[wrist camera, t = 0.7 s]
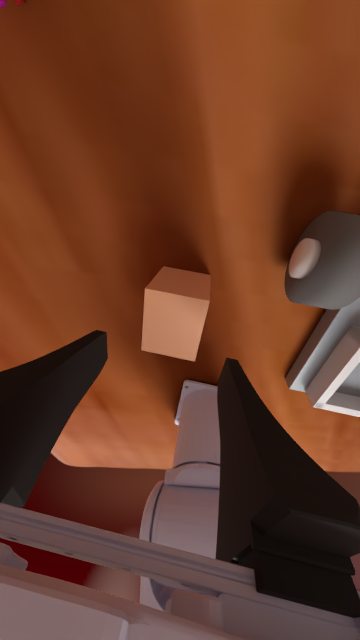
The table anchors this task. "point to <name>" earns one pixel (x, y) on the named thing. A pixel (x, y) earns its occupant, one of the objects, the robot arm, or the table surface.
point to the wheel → (326, 262)
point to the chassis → (331, 362)
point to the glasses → (1, 2)
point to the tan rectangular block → (175, 312)
